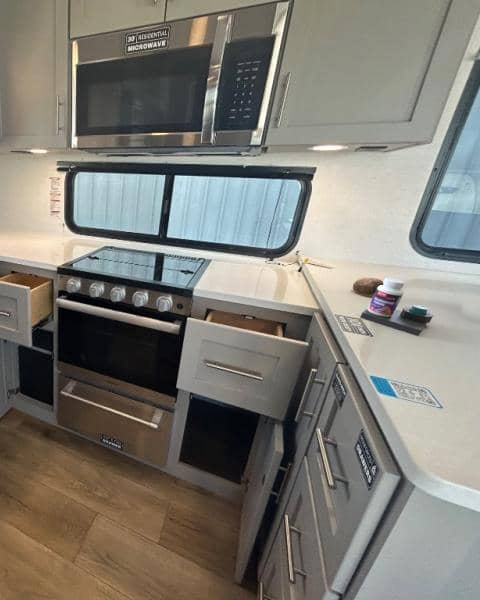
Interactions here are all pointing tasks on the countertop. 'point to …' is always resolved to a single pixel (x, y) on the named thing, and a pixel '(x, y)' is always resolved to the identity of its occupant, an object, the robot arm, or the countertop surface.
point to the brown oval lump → (367, 286)
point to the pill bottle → (386, 297)
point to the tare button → (419, 309)
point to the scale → (401, 320)
